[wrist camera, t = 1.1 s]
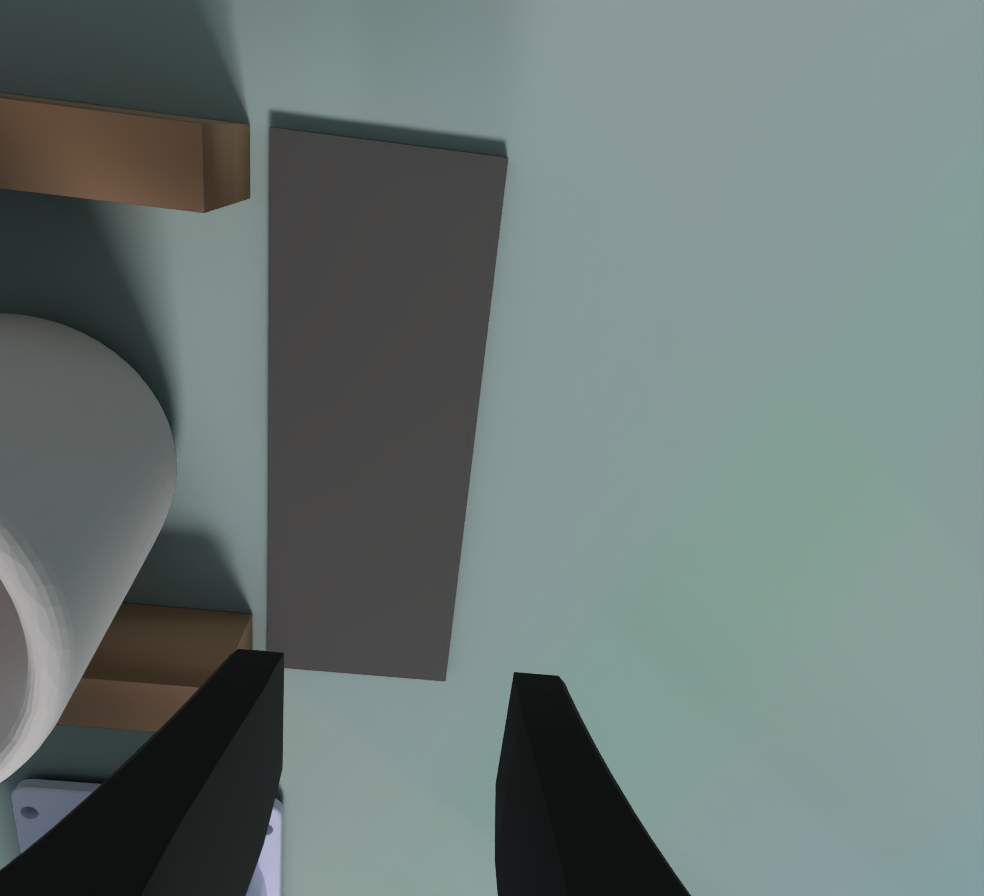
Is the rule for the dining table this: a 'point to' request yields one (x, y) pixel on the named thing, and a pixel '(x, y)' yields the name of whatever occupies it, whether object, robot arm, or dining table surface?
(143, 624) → the channel
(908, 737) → the dining table surface
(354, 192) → the pad
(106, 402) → the cup
